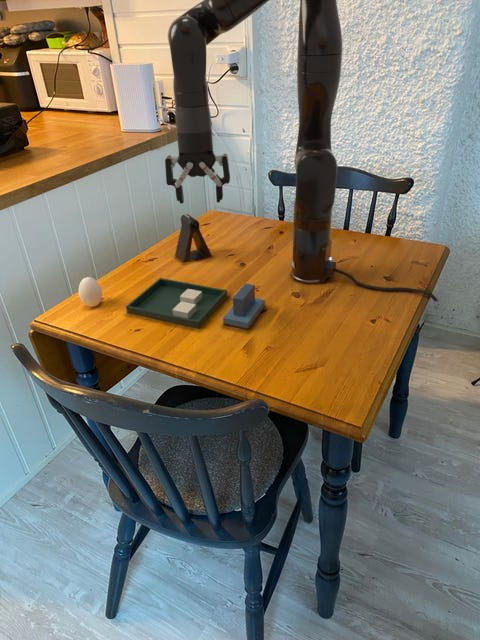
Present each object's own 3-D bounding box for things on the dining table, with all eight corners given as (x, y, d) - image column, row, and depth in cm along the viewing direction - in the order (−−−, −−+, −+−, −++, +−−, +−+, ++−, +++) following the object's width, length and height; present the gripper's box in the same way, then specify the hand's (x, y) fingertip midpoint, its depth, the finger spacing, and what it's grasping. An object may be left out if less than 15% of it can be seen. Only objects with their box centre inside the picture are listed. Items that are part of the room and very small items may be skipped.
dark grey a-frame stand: (183, 264, 132) (178, 224, 126) (175, 256, 137) (170, 217, 130) (211, 256, 136) (208, 217, 129) (202, 249, 140) (199, 210, 134)
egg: (93, 313, 112) (86, 285, 108) (77, 307, 114) (70, 280, 110) (109, 303, 116) (103, 275, 111) (93, 298, 118) (87, 270, 114)
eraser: (265, 308, 111) (265, 282, 107) (248, 332, 103) (247, 305, 99) (241, 304, 113) (241, 278, 109) (223, 326, 105) (221, 300, 101)
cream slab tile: (196, 310, 110) (195, 304, 109) (188, 319, 107) (187, 312, 106) (181, 307, 112) (181, 301, 111) (173, 316, 108) (172, 309, 108)
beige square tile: (202, 297, 115) (202, 291, 114) (194, 305, 112) (194, 299, 111) (188, 294, 117) (187, 288, 116) (180, 302, 114) (179, 296, 113)
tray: (227, 298, 116) (227, 290, 114) (199, 330, 104) (198, 322, 103) (161, 285, 122) (160, 277, 121) (127, 314, 111) (125, 306, 109)
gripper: (157, 132, 97) (167, 208, 106) (226, 130, 96) (230, 206, 105) (163, 125, 103) (172, 197, 112) (228, 123, 103) (231, 195, 111)
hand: (200, 202), depth 109 cm, fingers open, 8 cm apart
